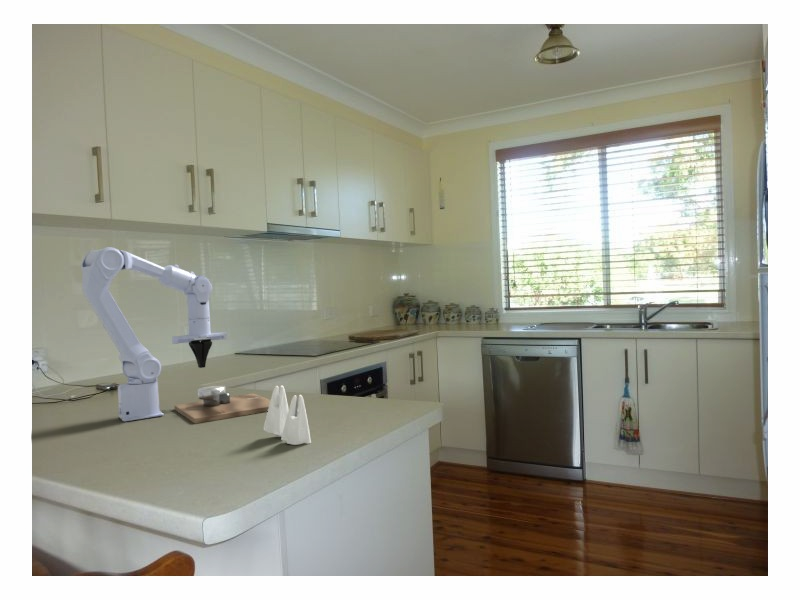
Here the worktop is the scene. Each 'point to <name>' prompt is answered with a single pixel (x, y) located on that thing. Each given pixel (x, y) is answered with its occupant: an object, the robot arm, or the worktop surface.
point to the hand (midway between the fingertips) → (201, 367)
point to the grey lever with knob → (214, 394)
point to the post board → (223, 408)
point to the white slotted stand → (287, 418)
